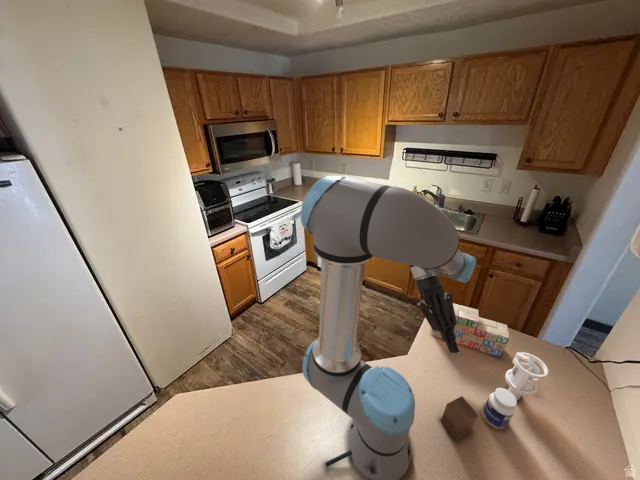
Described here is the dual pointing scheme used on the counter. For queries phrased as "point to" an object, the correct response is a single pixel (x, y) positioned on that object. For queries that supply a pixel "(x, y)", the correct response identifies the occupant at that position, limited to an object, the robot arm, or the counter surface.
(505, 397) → the pill bottle
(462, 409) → the walnut block
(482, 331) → the stack of blocks
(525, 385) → the strainer
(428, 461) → the counter surface
